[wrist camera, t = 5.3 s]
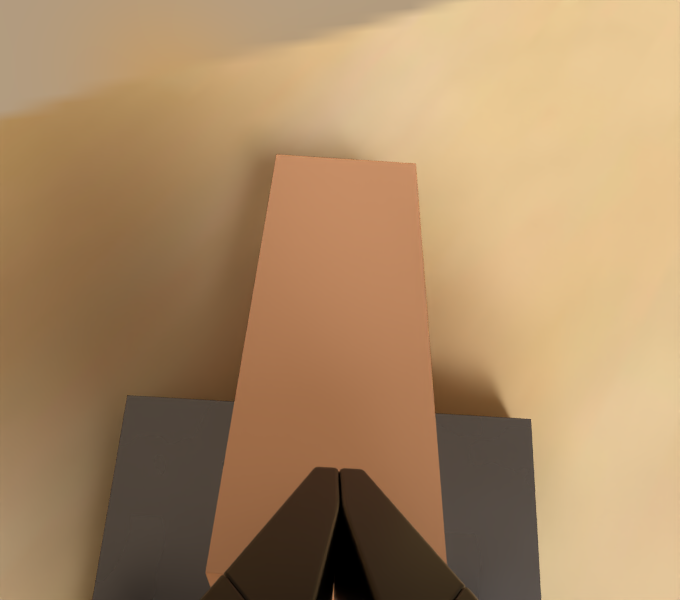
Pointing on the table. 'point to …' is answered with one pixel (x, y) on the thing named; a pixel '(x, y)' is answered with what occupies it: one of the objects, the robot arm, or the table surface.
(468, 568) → the plate
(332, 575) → the robot arm
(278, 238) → the block
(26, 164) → the table surface
